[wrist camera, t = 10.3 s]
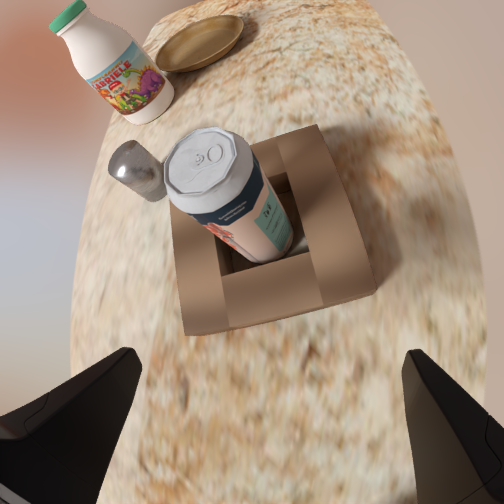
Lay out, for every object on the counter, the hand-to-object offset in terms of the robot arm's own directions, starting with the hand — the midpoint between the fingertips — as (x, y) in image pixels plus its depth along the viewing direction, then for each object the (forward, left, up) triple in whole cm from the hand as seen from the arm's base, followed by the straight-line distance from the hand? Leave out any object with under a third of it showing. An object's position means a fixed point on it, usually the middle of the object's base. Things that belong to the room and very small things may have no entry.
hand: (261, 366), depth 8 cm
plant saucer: (+34, +25, -14) cm, 44 cm away
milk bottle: (+22, +28, -13) cm, 38 cm away
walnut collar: (+7, +6, -13) cm, 16 cm away
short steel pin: (+10, +20, -13) cm, 26 cm away
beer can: (+7, +6, -13) cm, 16 cm away
